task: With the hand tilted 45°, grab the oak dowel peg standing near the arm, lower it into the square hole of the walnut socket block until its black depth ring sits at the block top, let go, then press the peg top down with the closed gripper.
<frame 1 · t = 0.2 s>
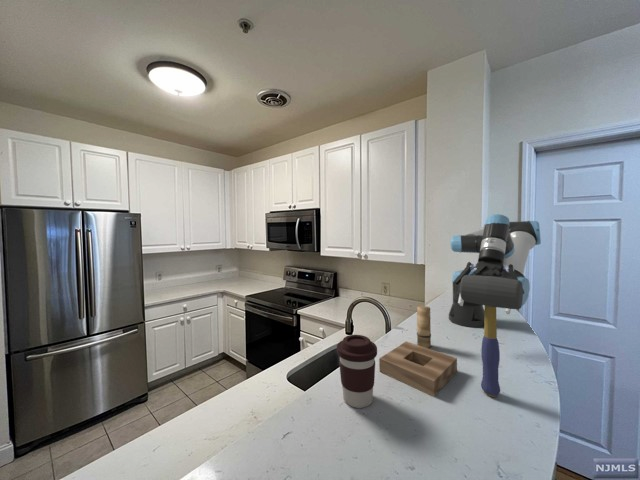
hand: (482, 308, 83), 15 cm above the table, tool tilted 35°, fingers open, 13 cm apart
coffee cup: (357, 399, 62), on the table
rubber mallet: (490, 395, 63), on the table
walnut socket block: (418, 371, 74), on the table
oak peg: (424, 346, 90), on the table
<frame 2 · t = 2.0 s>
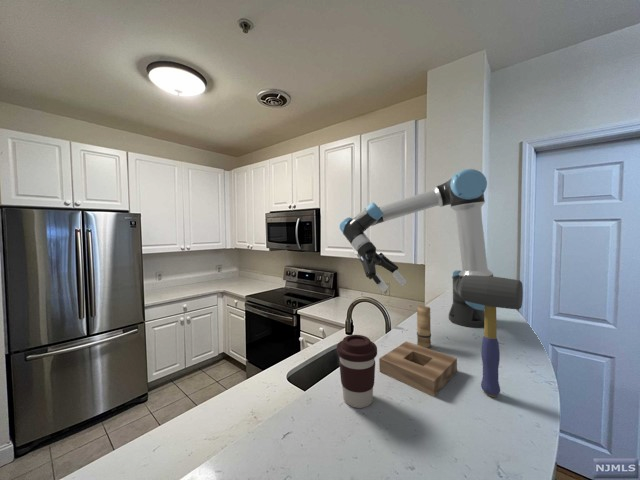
hand: (395, 287, 97), 20 cm above the table, tool tilted 45°, fingers open, 13 cm apart
nothing on the table moved.
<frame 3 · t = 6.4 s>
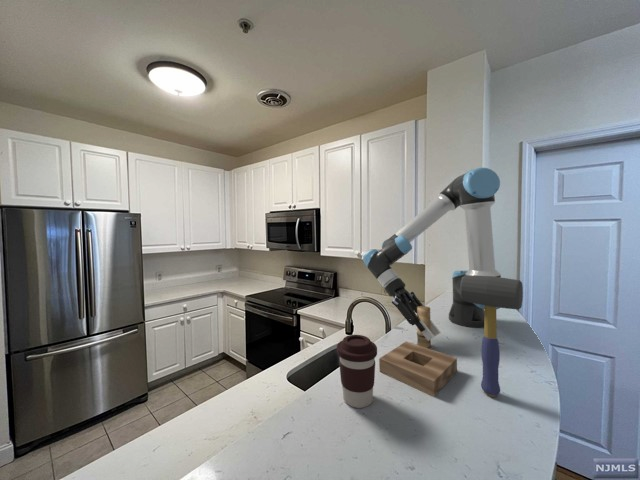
hand: (434, 336, 87), 5 cm above the table, tool tilted 45°, fingers closed on oak peg, 4 cm apart
oak peg: (424, 346, 90), on the table, touching gripper
everything else where it was.
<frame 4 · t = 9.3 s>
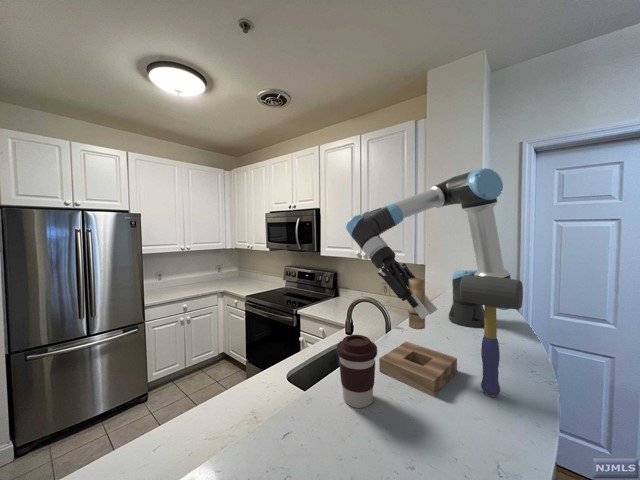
hand: (429, 313, 70), 18 cm above the table, tool tilted 45°, fingers closed on oak peg, 4 cm apart
oak peg: (416, 326, 73), point 13 cm above the table, touching gripper
everything else where it was.
when the fingers open (7 cm above the table, at t = 12.1 s): oak peg drops 2 cm, resting in walnut socket block.
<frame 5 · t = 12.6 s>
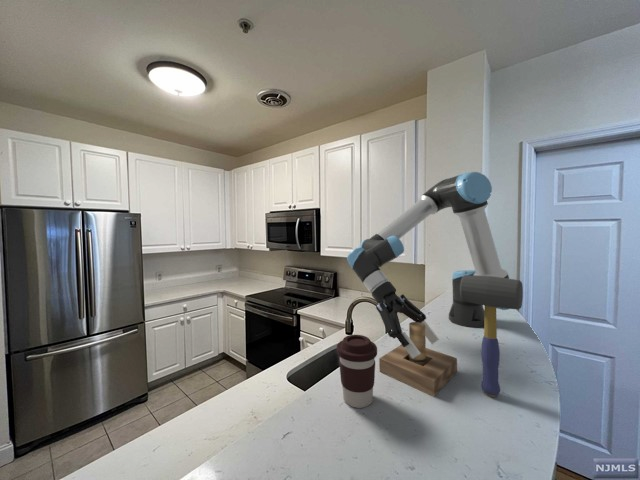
hand: (426, 348, 71), 8 cm above the table, tool tilted 45°, fingers open, 11 cm apart
oak peg: (417, 371, 74), resting in walnut socket block
everything else where it was.
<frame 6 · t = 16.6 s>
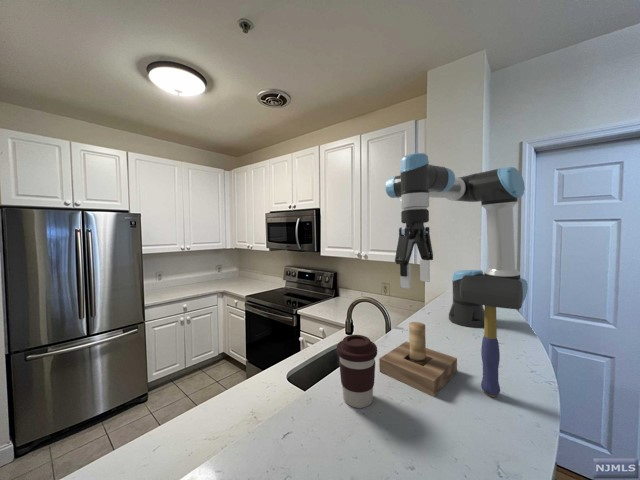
hand: (415, 284, 73), 26 cm above the table, tool pointing down, fingers open, 11 cm apart
nothing on the table moved.
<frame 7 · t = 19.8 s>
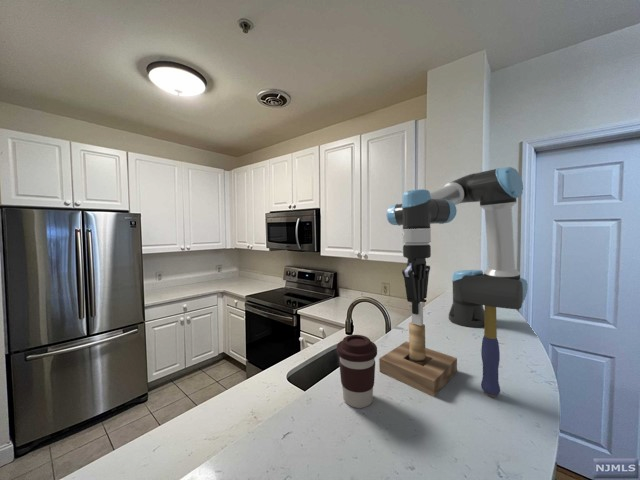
hand: (417, 324, 73), 14 cm above the table, tool pointing down, fingers closed
oak peg: (417, 371, 74), resting in walnut socket block, touching gripper
everything else where it was.
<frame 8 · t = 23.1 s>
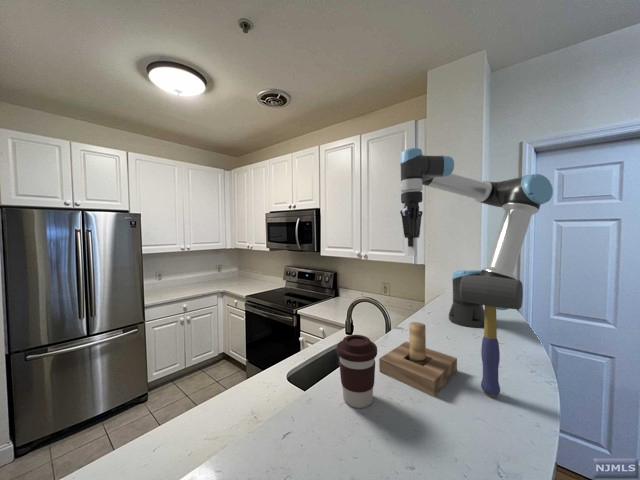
hand: (412, 255, 94), 32 cm above the table, tool pointing down, fingers closed
oak peg: (417, 371, 74), resting in walnut socket block
everything else where it was.
at the end: oak peg 0.1 cm off-centre on the walnut socket block, point 0.0 cm above the walnut socket block's base; oak peg tilted 0°; the gripper is holding nothing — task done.
